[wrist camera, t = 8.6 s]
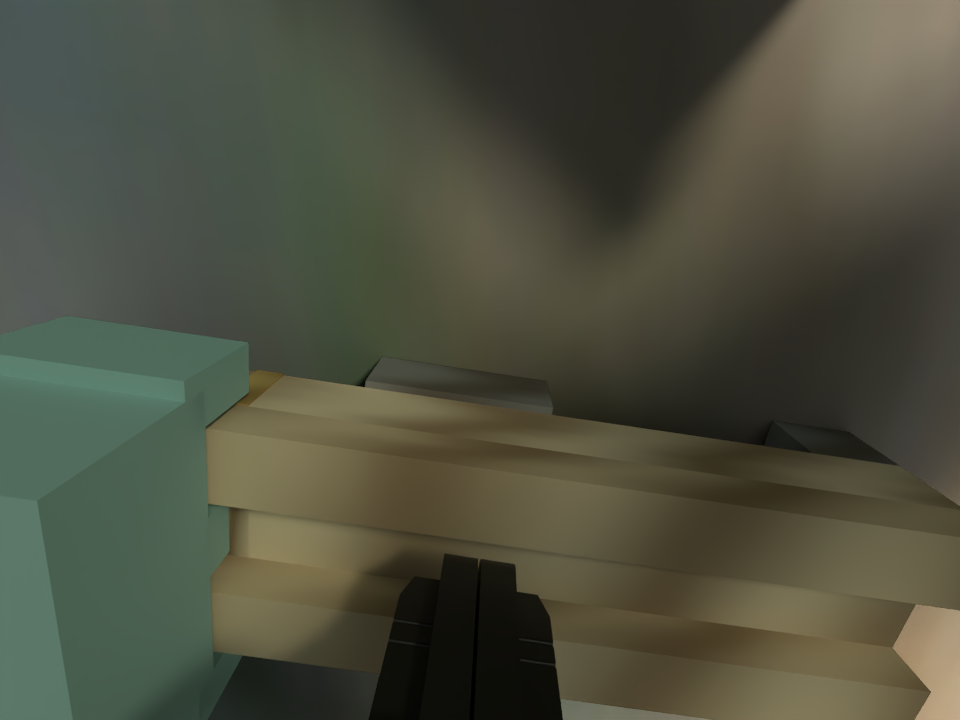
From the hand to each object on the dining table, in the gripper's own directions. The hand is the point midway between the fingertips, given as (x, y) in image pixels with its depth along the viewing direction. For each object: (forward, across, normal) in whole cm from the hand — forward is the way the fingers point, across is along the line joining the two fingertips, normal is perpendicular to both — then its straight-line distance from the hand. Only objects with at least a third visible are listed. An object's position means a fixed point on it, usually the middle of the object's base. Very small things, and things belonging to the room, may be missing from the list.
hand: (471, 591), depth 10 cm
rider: (+2, +8, 0) cm, 8 cm away
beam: (+6, +1, 0) cm, 6 cm away
